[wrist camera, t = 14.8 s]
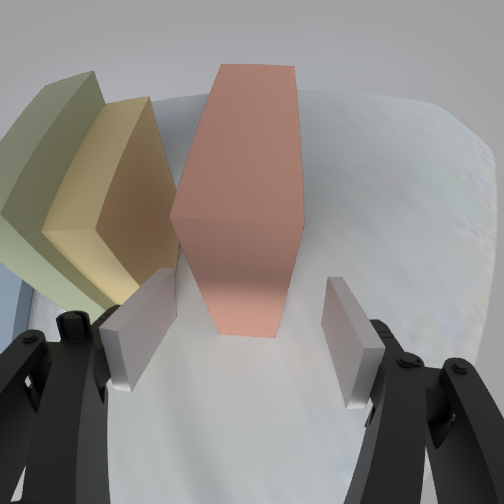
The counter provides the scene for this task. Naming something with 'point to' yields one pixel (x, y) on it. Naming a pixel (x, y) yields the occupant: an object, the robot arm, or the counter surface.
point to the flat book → (13, 306)
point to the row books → (85, 197)
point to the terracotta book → (244, 198)
